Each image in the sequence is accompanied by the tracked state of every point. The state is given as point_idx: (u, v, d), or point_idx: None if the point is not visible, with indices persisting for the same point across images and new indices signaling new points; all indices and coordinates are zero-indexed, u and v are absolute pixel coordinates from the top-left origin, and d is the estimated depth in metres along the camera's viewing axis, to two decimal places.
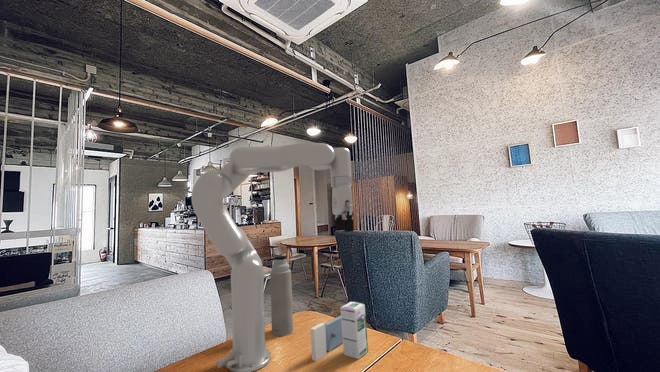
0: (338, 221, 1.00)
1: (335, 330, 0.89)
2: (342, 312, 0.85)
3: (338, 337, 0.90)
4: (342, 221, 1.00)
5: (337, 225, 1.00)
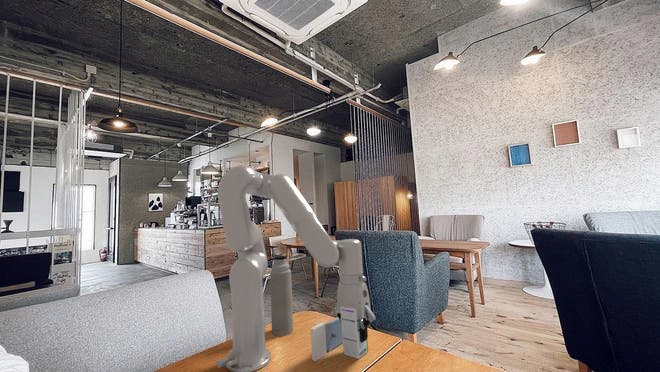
0: None
1: (335, 330, 0.89)
2: (342, 312, 0.85)
3: (338, 337, 0.90)
4: None
5: None
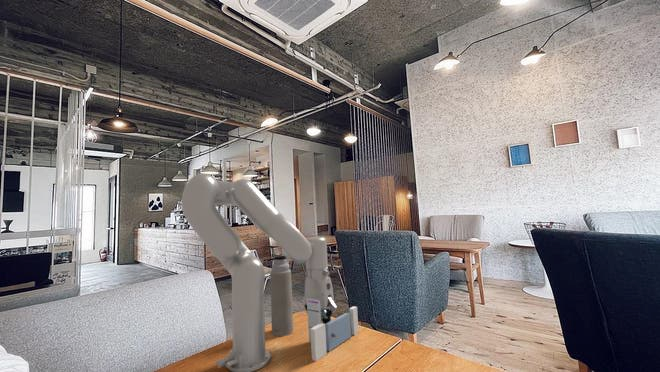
0: None
1: (335, 330, 0.89)
2: (308, 303, 0.93)
3: (338, 337, 0.90)
4: None
5: None
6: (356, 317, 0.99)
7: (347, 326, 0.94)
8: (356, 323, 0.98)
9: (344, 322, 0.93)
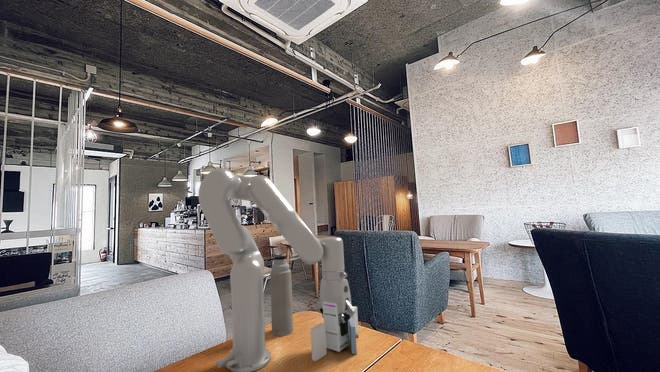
0: None
1: None
2: (324, 307, 0.88)
3: None
4: None
5: None
6: (356, 317, 0.99)
7: None
8: (356, 323, 0.98)
9: None
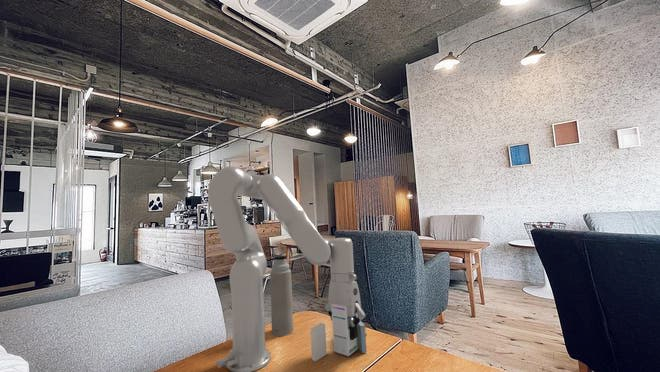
0: None
1: None
2: (333, 309, 0.86)
3: None
4: None
5: None
6: None
7: None
8: None
9: None
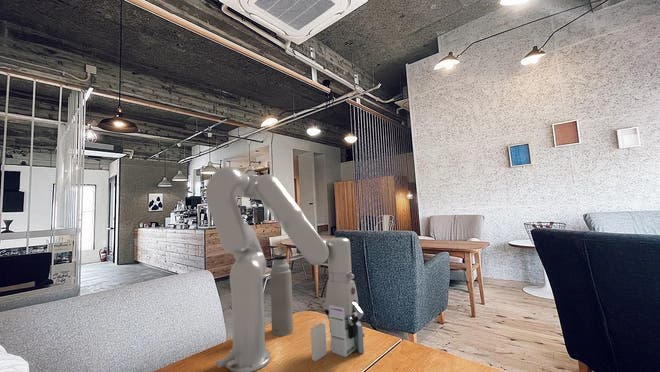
0: None
1: None
2: (331, 311, 0.87)
3: None
4: None
5: None
6: None
7: None
8: None
9: None
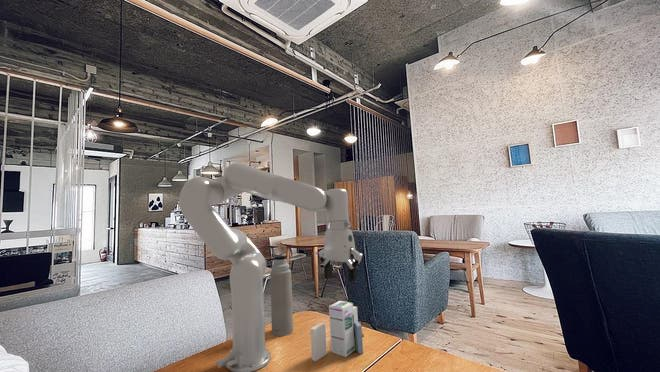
0: None
1: None
2: (330, 311, 0.87)
3: None
4: None
5: None
6: (356, 317, 0.99)
7: None
8: None
9: None
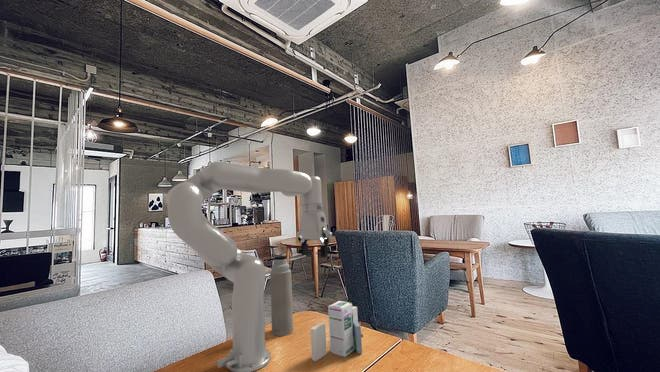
0: None
1: None
2: (329, 311, 0.87)
3: None
4: None
5: None
6: (356, 317, 0.99)
7: None
8: None
9: None
